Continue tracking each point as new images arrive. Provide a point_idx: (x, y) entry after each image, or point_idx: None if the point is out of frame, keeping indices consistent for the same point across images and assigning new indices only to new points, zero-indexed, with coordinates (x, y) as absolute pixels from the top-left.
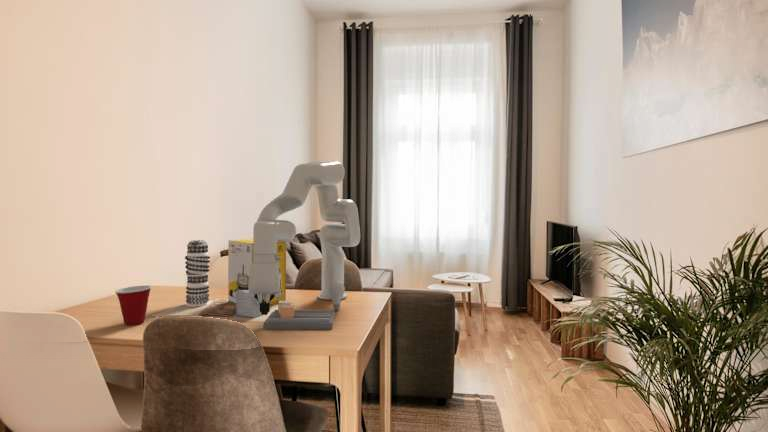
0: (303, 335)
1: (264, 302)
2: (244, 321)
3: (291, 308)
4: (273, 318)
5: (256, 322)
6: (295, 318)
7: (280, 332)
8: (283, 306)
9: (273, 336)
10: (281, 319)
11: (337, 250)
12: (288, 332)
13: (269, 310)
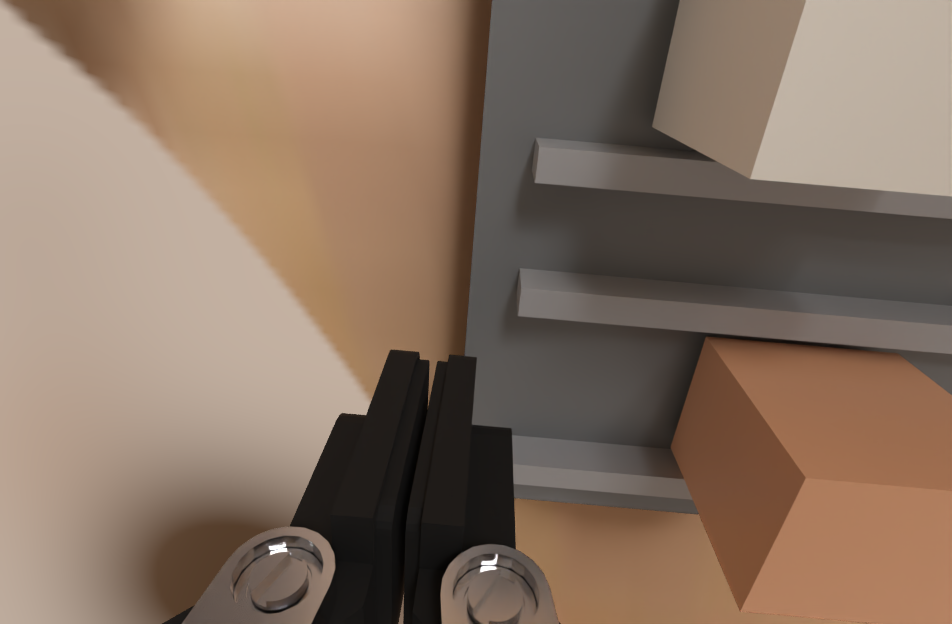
0: (827, 620)
1: (388, 588)
2: (103, 79)
3: (936, 615)
4: (575, 482)
5: (304, 153)
6: None
7: (634, 540)
8: (811, 554)
9: (572, 616)
10: (682, 491)
11: None
12: (710, 547)
13: (509, 438)
